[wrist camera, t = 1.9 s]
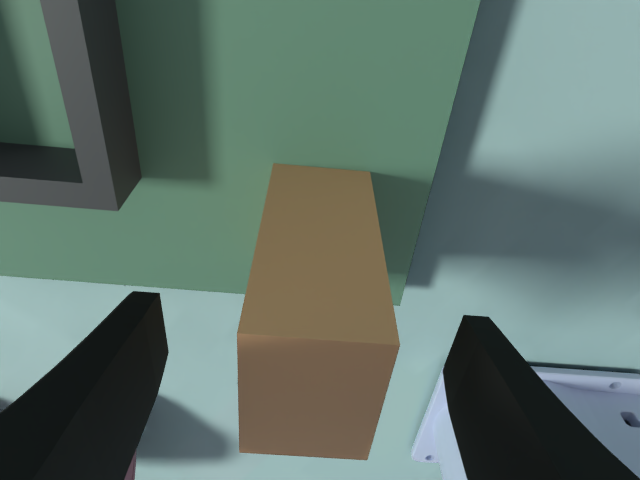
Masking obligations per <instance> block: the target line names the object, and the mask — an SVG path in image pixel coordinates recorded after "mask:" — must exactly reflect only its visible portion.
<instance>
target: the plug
mask: <svg viewBox="0 0 640 480" xmlns="http://www.w3.org/2000/svg"><path fill="white" fill-rule="evenodd" d="M399 347H400V342H399V337H398V331H397V325H396V319H395V313H394V308H393V302H392V296H391V290H390V284H389V279H388V273H387V267H386V261H385V255H384V250H383V244H382V238H381V232H380V226H379V221H378V215H377V209H376V203H375V197H374V192H373V186H372V180H371V174H370V172H367V171H356V170H344V169H333V168H322V167H310V166H299V165H288V164H276V163H273V167H272V171H271V176H270V181H269V186H268V190H267V195H266V200H265V204H264V209H263V214H262V219H261V223H260V228H259V233H258V237H257V242H256V247H255V252H254V256H253V261H252V266H251V270H250V275H249V280H248V285H247V289H246V294H245V299H244V303H243V308H242V313H241V317H240V322H239V327H238V332H237V354H238V406H239V453H256V454H272V455H289V456H306V457H323V458H339V459H356V460H367V459H368V456H369V452H370V449H371V445H372V442H373V438H374V435H375V431H376V427H377V424H378V420H379V417H380V413H381V410H382V406H383V403H384V399H385V396H386V392H387V389H388V385H389V382H390V378H391V375H392V371H393V368H394V364H395V361H396V357H397V354H398V350H399Z"/></svg>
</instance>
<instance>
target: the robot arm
mask: <svg viewBox="0 0 640 480" xmlns="http://www.w3.org/2000/svg"><path fill="white" fill-rule="evenodd" d="M167 356H168V345H167V339H166V332H165V326H164V319H163V312H162V306H161V299H160V293H151V292H137V291H133V292H131V293H130V294H129V295H128V296H127V297H126V298H125V299H124V300H123V301H122V302H121V303H120V304H119V305H118V306H117V307H116V308H115V309H114V310H113V311H112V312H111V313H110V314H109V315H108V316H107V317H106V318H105V319H104V320H103V321H102V322H101V323H100V324H99V325H98V326H97V327H96V328H95V329H94V330H93V331H92V332H91V333H90V334H89V335H88V336H87V337H86V338H85V339H84V340H83V341H82V342H81V343H80V344H78V345H77V346H76V347H75V348H74V349H73V350H72V351H71V352H70V353H69V354H68V355H67V356H66V357H65V358H64V359H63V360H62V361H60V362H59V363H58V364H57V365H56V366H55V367H54V368H53V369H52V370H50V371H49V372H48V373H47V374H46V375H45V376H43V377H42V378H41V379H40V380H39V381H38V382H37V383H35V384H34V385H33V386H32V387H31V388H30V389H29V390H27V391H26V392H25V393H24V394H23V395H22V396H20V397H19V398H18V399H17V400H16V401H14V402H13V403H12V404H11V405H9V406H8V407H7V408H6V409H4V410H3V411H2V412H1V413H0V480H124V479H125V476H126V474H127V471H128V469H129V466H130V464H131V461H132V459H133V456H134V453H135V451H136V448H137V446H138V443H139V441H140V438H141V436H142V433H143V431H144V428H145V425H146V423H147V420H148V418H149V415H150V413H151V410H152V407H153V405H154V402H155V399H156V397H157V394H158V391H159V387H160V384H161V380H162V376H163V372H164V368H165V364H166V360H167ZM411 456H412V459H413V460H415V461H418V462H432V463H439V464H440V469H441V474H442V479H443V480H640V374H634V373H620V372H606V371H592V370H577V369H563V368H549V367H535V366H530V365H529V364H528V363H527V362H526V361H525V359H524V358H523V357H522V356H521V355H520V353H519V352H518V351H517V350H516V349H515V348H514V346H513V345H512V344H511V343H510V342H509V340H508V339H507V338H506V337H505V336H504V334H503V333H502V332H501V331H500V330H499V328H498V327H497V326H496V325H495V324H494V322H493V321H492V320H491V319H490V318H489V317H483V316H470V315H464V316H463V318H462V321H461V323H460V326H459V329H458V331H457V334H456V336H455V339H454V342H453V344H452V347H451V349H450V352H449V355H448V357H447V360H446V362H445V365H444V366H443V368H442V371H441V373H440V376H439V378H438V381H437V384H436V386H435V389H434V392H433V394H432V397H431V400H430V402H429V405H428V407H427V410H426V413H425V415H424V418H423V421H422V423H421V426H420V428H419V431H418V434H417V436H416V439H415V442H414V444H413V447H412V449H411Z"/></svg>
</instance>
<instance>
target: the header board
mask: <svg viewBox="0 0 640 480" xmlns="http://www.w3.org/2000/svg"><path fill="white" fill-rule="evenodd" d="M479 4H480V0H0V276H12V277H25V278H38V279H52V280H65V281H78V282H91V283H105V284H118V285H131V286H145V287H158V288H171V289H184V290H198V291H211V292H224V293H238V294H246V289H247V285H248V280H249V275H250V270H251V266H252V261H253V256H254V252H255V247H256V242H257V237H258V233H259V228H260V223H261V219H262V214H263V209H264V204H265V200H266V195H267V190H268V186H269V181H270V176H271V171H272V167H273V163H276V164H288V165H299V166H310V167H322V168H333V169H344V170H356V171H367V172H370V174H371V180H372V186H373V192H374V197H375V203H376V209H377V215H378V221H379V226H380V232H381V238H382V244H383V250H384V255H385V261H386V267H387V273H388V279H389V284H390V290H391V296H392V302H393V305H397V306H400V303H401V299H402V295H403V291H404V287H405V284H406V280H407V276H408V272H409V269H410V265H411V261H412V257H413V253H414V250H415V246H416V242H417V238H418V235H419V231H420V227H421V223H422V219H423V216H424V212H425V208H426V204H427V201H428V197H429V193H430V189H431V185H432V182H433V178H434V174H435V170H436V167H437V163H438V159H439V155H440V151H441V148H442V144H443V140H444V136H445V133H446V129H447V125H448V121H449V117H450V114H451V110H452V106H453V102H454V99H455V95H456V91H457V87H458V83H459V80H460V76H461V72H462V68H463V65H464V61H465V57H466V53H467V49H468V46H469V42H470V38H471V34H472V31H473V27H474V23H475V19H476V15H477V12H478V8H479Z"/></svg>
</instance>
